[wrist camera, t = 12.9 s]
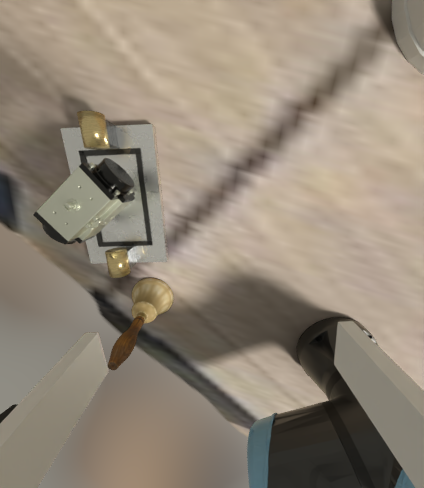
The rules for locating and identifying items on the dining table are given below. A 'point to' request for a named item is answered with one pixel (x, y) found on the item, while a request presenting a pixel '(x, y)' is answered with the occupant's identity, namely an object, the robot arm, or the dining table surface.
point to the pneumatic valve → (86, 202)
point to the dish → (410, 30)
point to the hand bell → (141, 315)
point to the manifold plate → (145, 188)
